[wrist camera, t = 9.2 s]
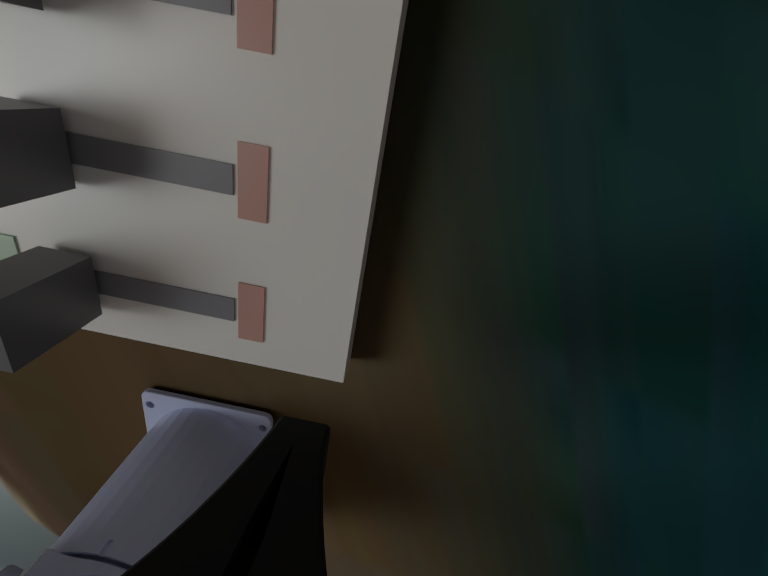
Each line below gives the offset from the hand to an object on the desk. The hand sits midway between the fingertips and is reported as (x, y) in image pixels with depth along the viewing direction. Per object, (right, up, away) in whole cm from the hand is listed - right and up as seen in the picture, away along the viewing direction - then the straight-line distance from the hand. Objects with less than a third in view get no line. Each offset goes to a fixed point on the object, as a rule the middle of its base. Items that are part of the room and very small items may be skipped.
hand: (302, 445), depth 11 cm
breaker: (-12, +5, +7) cm, 15 cm away
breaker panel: (-9, +11, +6) cm, 15 cm away
